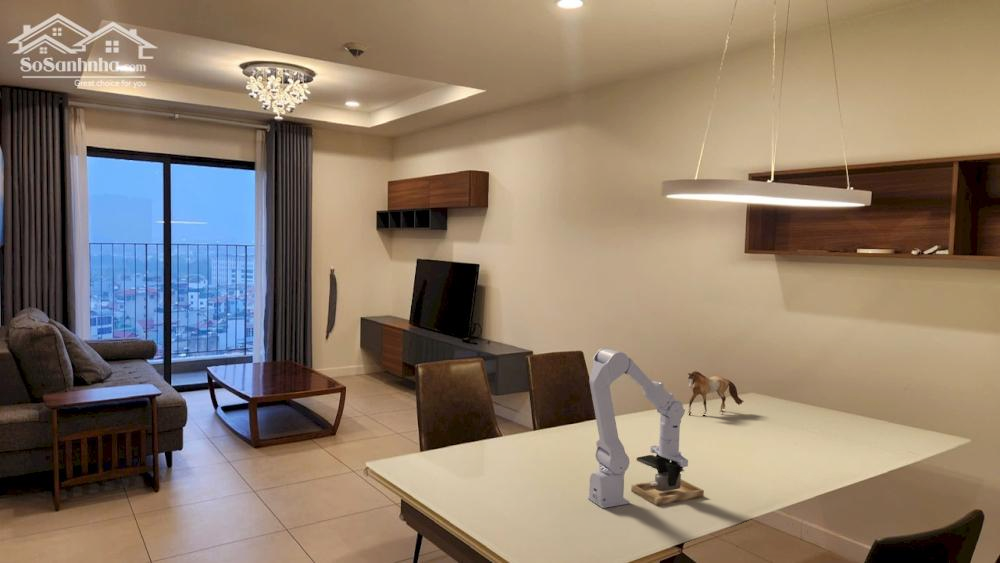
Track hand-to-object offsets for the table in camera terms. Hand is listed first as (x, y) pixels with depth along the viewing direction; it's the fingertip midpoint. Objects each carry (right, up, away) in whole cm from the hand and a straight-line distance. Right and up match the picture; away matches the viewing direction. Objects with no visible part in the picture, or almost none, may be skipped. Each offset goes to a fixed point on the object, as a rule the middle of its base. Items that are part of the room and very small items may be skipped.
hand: (667, 483), depth 187 cm
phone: (+4, -3, +26) cm, 27 cm away
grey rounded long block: (-1, -1, 0) cm, 2 cm away
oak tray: (0, -3, 0) cm, 3 cm away
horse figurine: (+47, -1, +95) cm, 106 cm away
